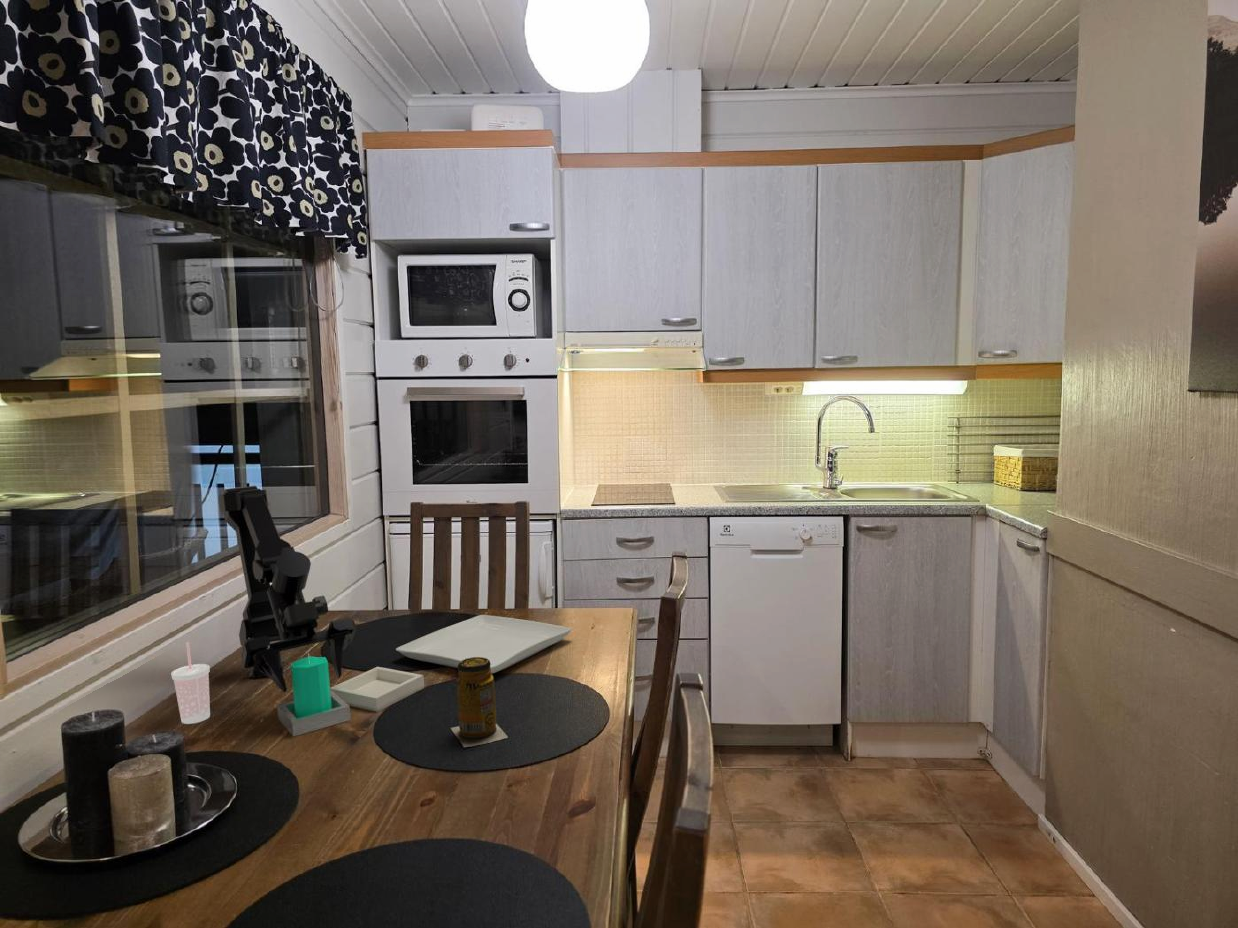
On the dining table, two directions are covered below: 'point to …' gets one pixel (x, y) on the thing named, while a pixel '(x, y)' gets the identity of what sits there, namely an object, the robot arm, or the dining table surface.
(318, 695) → the candle
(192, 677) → the beverage cup
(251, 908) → the dining table surface
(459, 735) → the condiment
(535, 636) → the square plate
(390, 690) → the tray
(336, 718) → the steel collar
